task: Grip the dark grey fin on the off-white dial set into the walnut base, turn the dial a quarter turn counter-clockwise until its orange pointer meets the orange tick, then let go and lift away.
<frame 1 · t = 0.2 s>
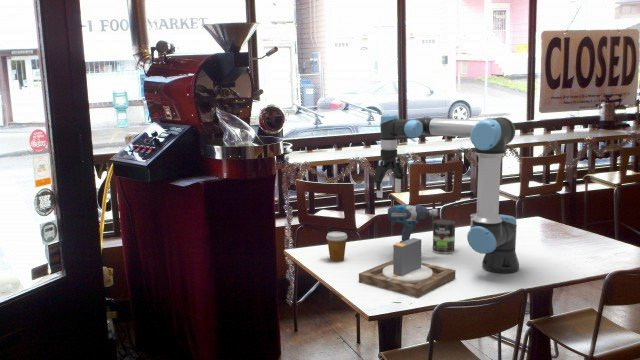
hand: (388, 195, 287), 28 cm above the table, tool pointing down, fingers open, 13 cm apart
can: (481, 237, 319), on the table
impact wrench: (412, 259, 284), on the table
disposable coffee cup: (337, 260, 285), on the table
dial: (407, 258, 255), point 9 cm above the table, hinge at 0.0°
coffee can: (443, 251, 296), on the table
dial base: (407, 280, 256), on the table
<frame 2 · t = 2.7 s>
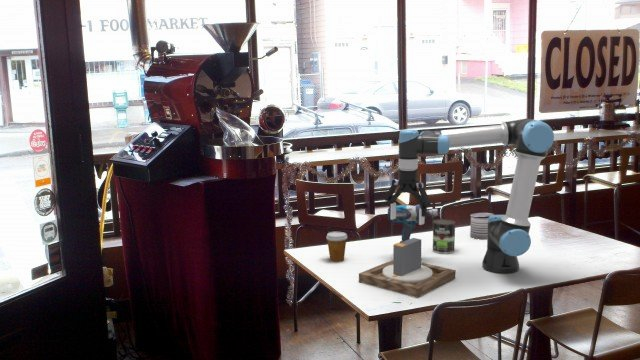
hand: (407, 221, 252), 24 cm above the table, tool pointing down, fingers open, 13 cm apart
nothing on the table moved.
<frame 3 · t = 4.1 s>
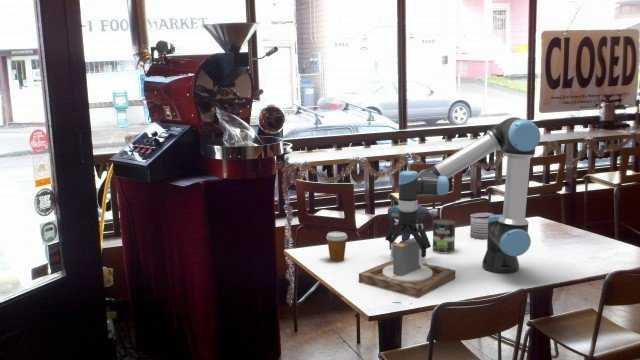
hand: (407, 261, 255), 8 cm above the table, tool pointing down, fingers open, 13 cm apart
nothing on the table moved.
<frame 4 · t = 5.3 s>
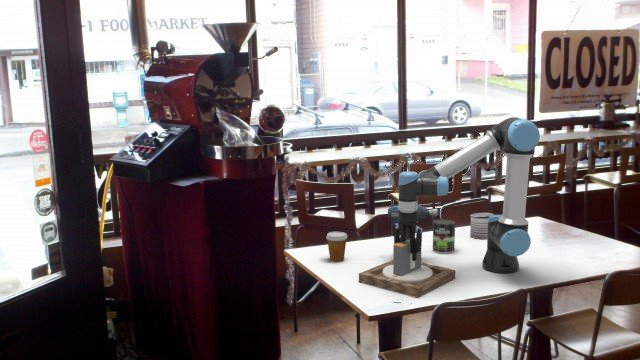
hand: (407, 266, 255), 6 cm above the table, tool pointing down, fingers closed on dial, 4 cm apart
dial: (407, 258, 255), point 9 cm above the table, hinge at 0.0°, touching gripper
everything else where it was.
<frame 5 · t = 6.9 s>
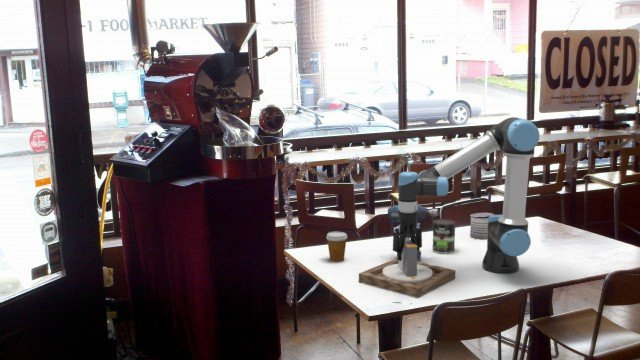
hand: (407, 266, 255), 6 cm above the table, tool pointing down, fingers closed on dial, 6 cm apart
dial: (407, 258, 255), point 9 cm above the table, hinge at 48.5°, touching gripper
everything else where it was.
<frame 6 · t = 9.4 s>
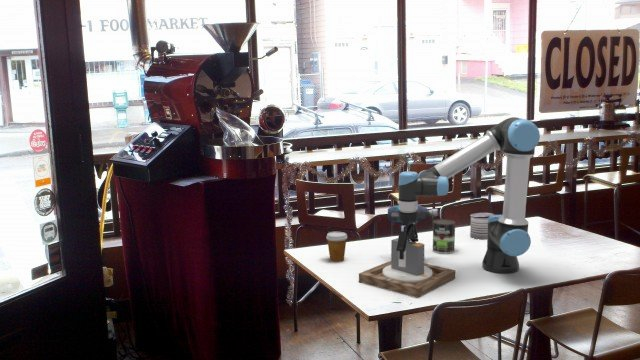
hand: (407, 261, 255), 8 cm above the table, tool pointing down, fingers open, 13 cm apart
dial: (407, 258, 255), point 9 cm above the table, hinge at 82.9°
everything else where it was.
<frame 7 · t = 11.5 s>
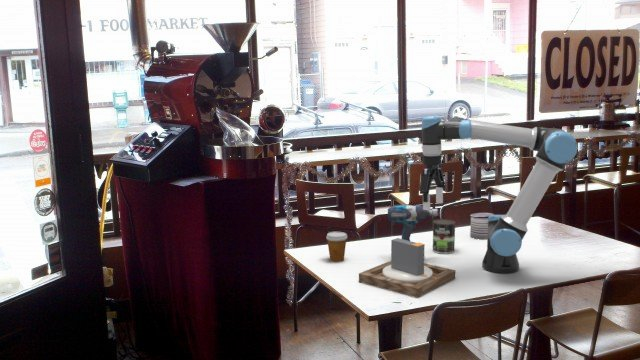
hand: (433, 206, 257), 29 cm above the table, tool pointing down, fingers open, 13 cm apart
nothing on the table moved.
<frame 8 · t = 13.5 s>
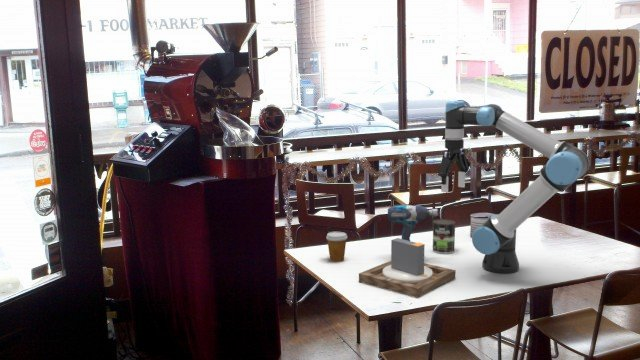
hand: (453, 189, 262), 35 cm above the table, tool pointing down, fingers open, 13 cm apart
nothing on the table moved.
at the end: dial at +83° (first picture: +0°); the gripper is holding nothing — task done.
